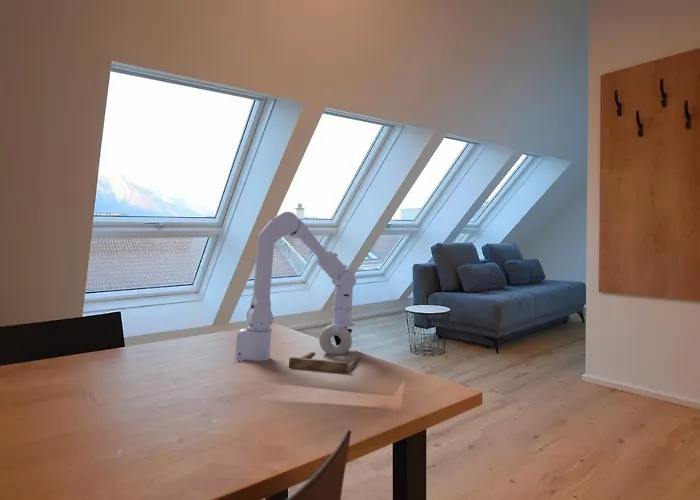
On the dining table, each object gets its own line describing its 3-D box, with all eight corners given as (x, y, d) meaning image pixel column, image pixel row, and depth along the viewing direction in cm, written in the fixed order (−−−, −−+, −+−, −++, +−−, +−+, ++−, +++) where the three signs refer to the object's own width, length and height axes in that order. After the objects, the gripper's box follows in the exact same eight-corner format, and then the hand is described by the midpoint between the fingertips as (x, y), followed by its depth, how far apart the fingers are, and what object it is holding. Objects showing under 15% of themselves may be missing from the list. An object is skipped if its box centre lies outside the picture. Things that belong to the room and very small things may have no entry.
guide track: (288, 367, 127) (289, 357, 127) (311, 356, 145) (311, 347, 145) (346, 373, 123) (346, 363, 123) (362, 360, 141) (362, 352, 141)
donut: (351, 355, 146) (353, 324, 144) (350, 359, 142) (352, 328, 140) (319, 352, 147) (320, 321, 145) (317, 356, 143) (318, 325, 141)
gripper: (349, 311, 140) (347, 357, 139) (360, 307, 154) (359, 349, 153) (326, 309, 141) (324, 355, 141) (339, 306, 155) (338, 348, 155)
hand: (340, 352), depth 147 cm, fingers closed
